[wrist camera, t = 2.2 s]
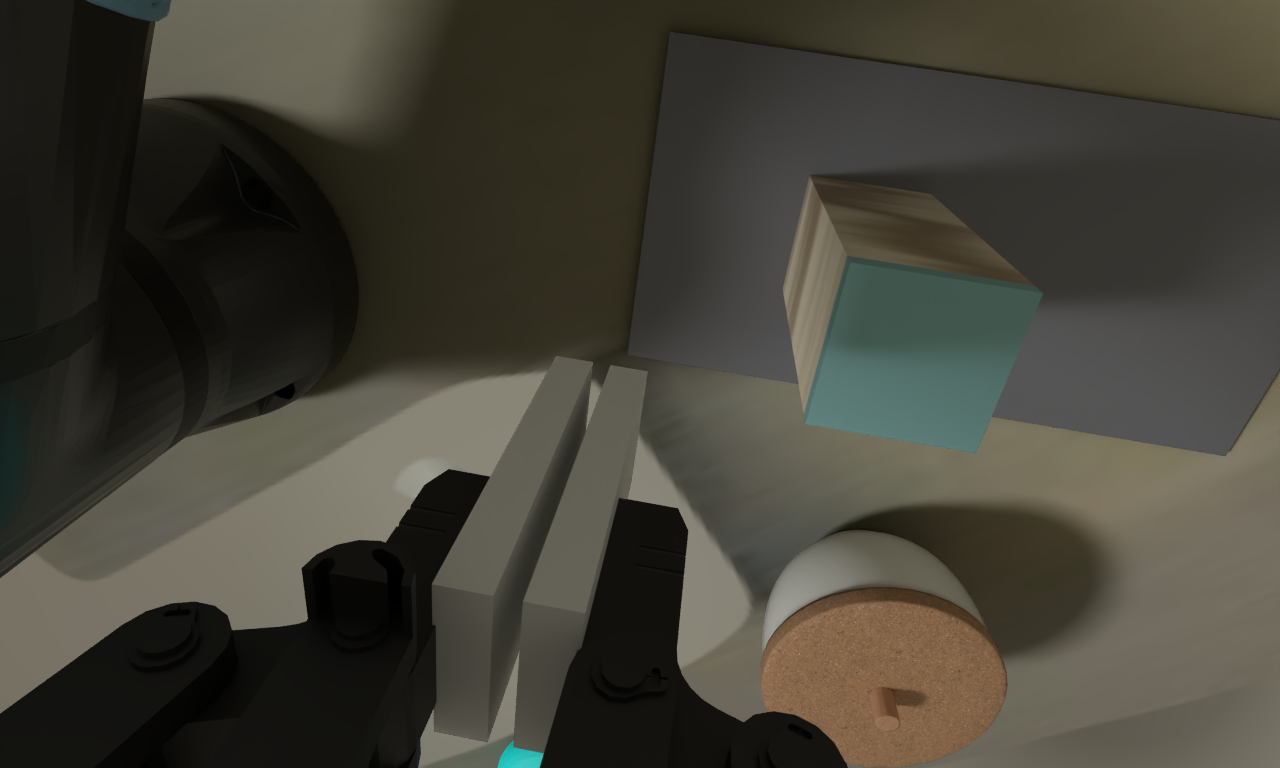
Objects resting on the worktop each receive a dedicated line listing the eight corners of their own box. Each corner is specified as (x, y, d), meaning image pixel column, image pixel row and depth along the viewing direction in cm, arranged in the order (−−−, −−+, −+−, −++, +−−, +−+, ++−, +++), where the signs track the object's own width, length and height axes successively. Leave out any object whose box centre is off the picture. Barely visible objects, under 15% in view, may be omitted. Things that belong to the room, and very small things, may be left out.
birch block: (782, 289, 31) (805, 424, 21) (809, 175, 29) (850, 262, 19) (895, 307, 31) (976, 453, 21) (931, 194, 29) (1043, 293, 18)
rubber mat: (628, 351, 34) (627, 355, 34) (670, 31, 28) (669, 31, 27) (1220, 451, 33) (1225, 456, 32) (1411, 139, 26) (1420, 140, 26)
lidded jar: (998, 530, 36) (1075, 680, 28) (904, 666, 41) (945, 827, 33) (800, 467, 36) (819, 600, 28) (730, 612, 41) (728, 761, 33)
